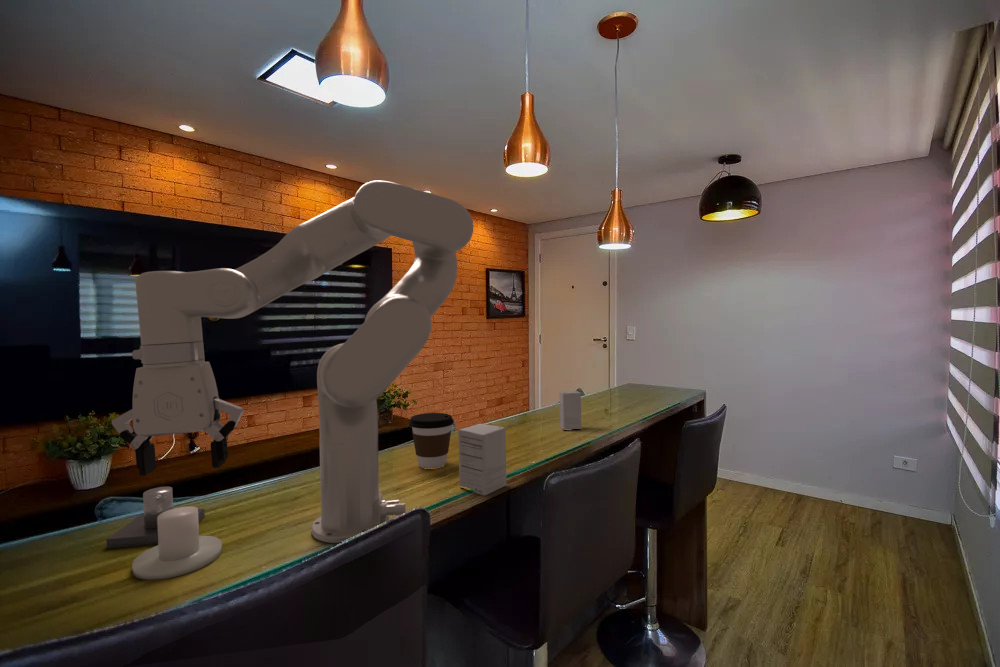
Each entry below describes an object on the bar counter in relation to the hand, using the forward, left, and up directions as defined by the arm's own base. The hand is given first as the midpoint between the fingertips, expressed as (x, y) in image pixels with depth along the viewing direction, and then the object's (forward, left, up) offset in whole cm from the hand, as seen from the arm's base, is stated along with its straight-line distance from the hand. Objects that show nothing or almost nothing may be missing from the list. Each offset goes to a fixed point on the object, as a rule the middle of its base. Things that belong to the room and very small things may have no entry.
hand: (184, 468), depth 70 cm
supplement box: (-48, -20, -14) cm, 54 cm away
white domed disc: (+1, 0, -14) cm, 14 cm away
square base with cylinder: (+9, -11, -14) cm, 19 cm away
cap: (+1, 0, -13) cm, 13 cm away
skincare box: (-83, -65, -14) cm, 106 cm away
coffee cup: (-38, -37, -14) cm, 55 cm away
